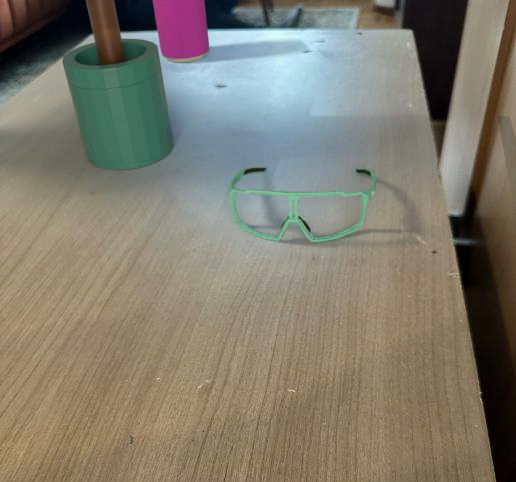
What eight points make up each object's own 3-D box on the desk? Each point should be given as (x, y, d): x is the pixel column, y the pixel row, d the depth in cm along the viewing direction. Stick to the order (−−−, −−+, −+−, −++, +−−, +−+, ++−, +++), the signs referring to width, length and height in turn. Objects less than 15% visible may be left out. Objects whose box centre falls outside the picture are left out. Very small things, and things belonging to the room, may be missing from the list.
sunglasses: (217, 243, 59) (212, 192, 56) (248, 182, 71) (245, 137, 68) (372, 249, 57) (375, 195, 54) (376, 185, 69) (379, 138, 66)
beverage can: (214, 59, 99) (204, -29, 91) (165, 67, 98) (151, -22, 90) (205, 45, 105) (196, -39, 97) (159, 52, 104) (145, -32, 96)
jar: (74, 169, 74) (47, 70, 66) (104, 132, 81) (83, 39, 74) (159, 170, 72) (141, 68, 65) (183, 132, 79) (168, 37, 72)
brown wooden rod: (108, 152, 75) (62, -45, 62) (119, 137, 78) (78, -54, 65) (141, 152, 74) (101, -47, 61) (151, 138, 77) (115, -56, 64)
